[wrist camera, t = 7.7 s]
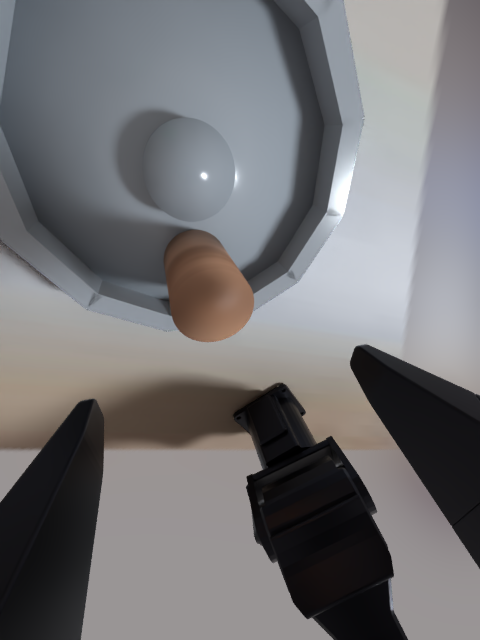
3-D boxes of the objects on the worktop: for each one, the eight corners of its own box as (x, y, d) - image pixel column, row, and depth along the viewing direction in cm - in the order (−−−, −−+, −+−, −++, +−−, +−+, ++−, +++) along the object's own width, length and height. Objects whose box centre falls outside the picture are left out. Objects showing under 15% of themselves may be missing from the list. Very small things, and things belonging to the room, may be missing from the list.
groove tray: (363, 218, 20) (385, 227, 18) (159, 350, 22) (161, 372, 20) (250, -271, 9) (279, -380, 7) (-154, 77, 10) (-221, 65, 9)
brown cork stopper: (226, 284, 19) (252, 335, 15) (168, 291, 18) (176, 348, 14) (224, 227, 17) (255, 264, 12) (158, 232, 16) (165, 274, 11)
